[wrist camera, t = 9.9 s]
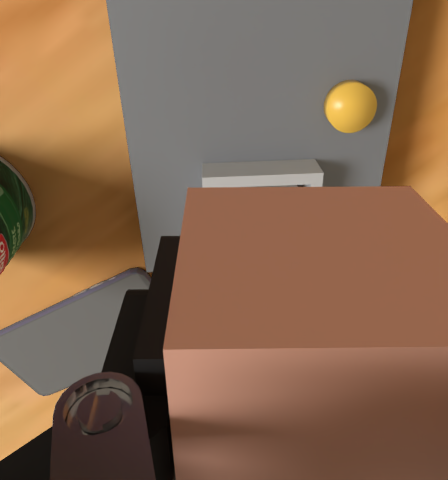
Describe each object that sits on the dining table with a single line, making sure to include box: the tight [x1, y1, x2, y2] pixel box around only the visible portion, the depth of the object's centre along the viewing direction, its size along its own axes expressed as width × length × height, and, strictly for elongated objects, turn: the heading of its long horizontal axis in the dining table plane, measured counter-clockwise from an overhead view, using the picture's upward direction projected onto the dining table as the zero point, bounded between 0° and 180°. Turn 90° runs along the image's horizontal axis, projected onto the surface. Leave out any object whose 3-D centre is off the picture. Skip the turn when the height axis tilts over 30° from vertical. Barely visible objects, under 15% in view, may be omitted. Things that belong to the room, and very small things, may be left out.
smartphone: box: [0, 267, 151, 396], centre depth 34 cm, size 8×1×15 cm
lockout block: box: [163, 186, 448, 480], centre depth 9 cm, size 5×5×5 cm
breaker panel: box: [106, 0, 413, 272], centre depth 22 cm, size 14×20×5 cm
